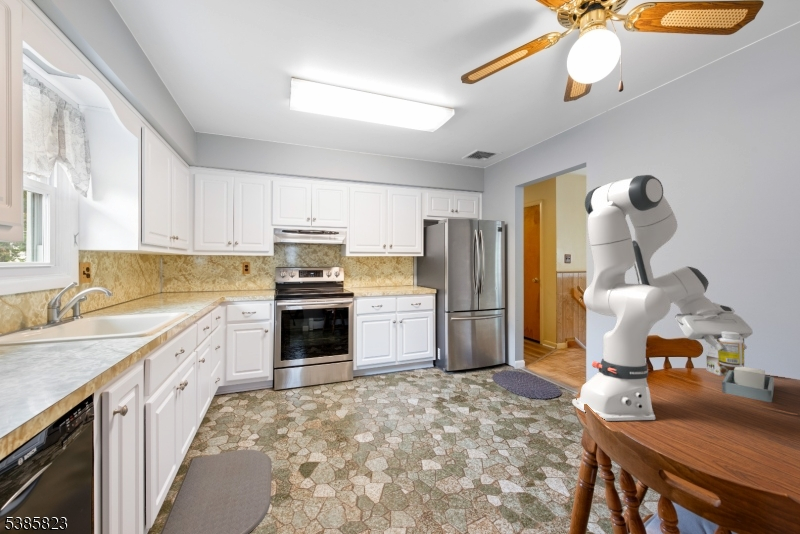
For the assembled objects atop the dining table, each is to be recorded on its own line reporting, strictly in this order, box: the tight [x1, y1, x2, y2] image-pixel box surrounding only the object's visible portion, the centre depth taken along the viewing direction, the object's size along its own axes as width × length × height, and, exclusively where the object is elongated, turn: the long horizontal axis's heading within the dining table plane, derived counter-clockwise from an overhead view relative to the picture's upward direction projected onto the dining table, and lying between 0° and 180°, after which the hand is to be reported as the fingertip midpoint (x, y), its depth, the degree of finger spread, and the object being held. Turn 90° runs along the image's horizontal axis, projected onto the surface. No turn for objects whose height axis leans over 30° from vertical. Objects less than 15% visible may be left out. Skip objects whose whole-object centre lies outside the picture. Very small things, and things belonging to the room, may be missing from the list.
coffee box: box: [706, 339, 745, 377], centre depth 129 cm, size 9×6×16 cm
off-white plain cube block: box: [734, 366, 766, 389], centre depth 115 cm, size 6×7×6 cm
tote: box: [721, 370, 775, 403], centre depth 112 cm, size 20×11×4 cm, turn 129°
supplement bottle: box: [718, 331, 745, 367], centre depth 101 cm, size 6×6×10 cm
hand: (732, 349), depth 100 cm, fingers closed on supplement bottle, 6 cm apart
